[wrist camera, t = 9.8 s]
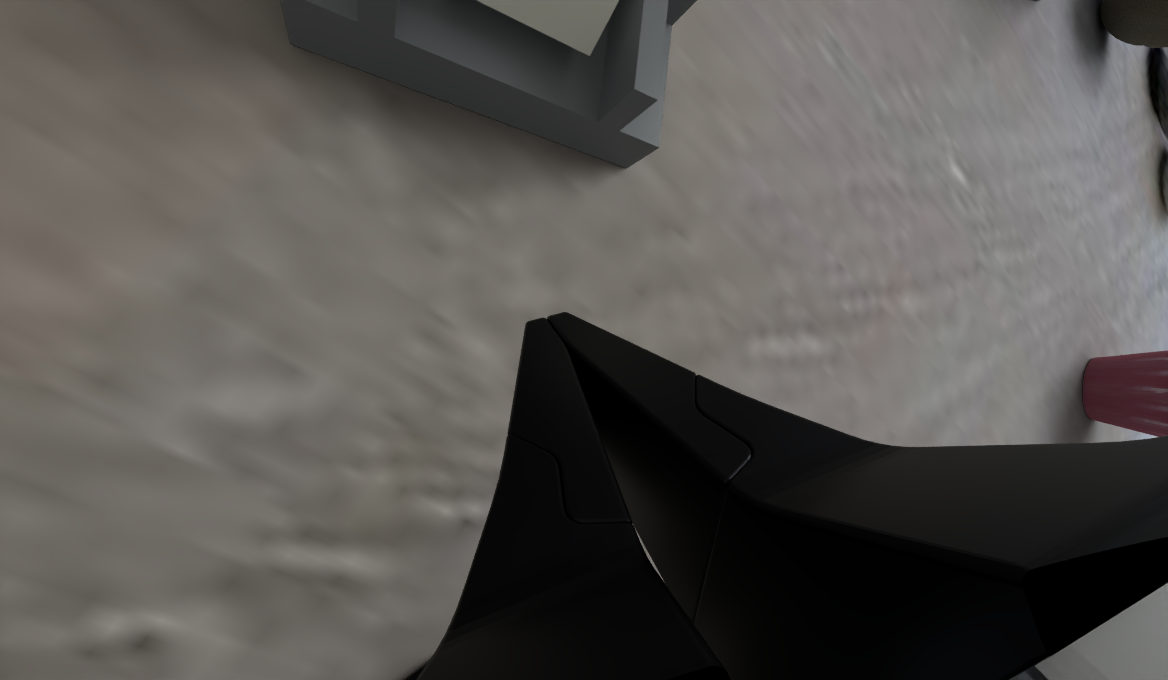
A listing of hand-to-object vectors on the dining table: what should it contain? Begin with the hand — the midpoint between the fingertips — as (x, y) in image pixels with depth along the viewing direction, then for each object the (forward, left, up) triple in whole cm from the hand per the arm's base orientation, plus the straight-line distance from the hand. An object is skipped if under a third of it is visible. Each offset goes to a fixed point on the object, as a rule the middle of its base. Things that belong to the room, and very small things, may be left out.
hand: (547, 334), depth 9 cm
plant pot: (-43, -81, -13) cm, 93 cm away
